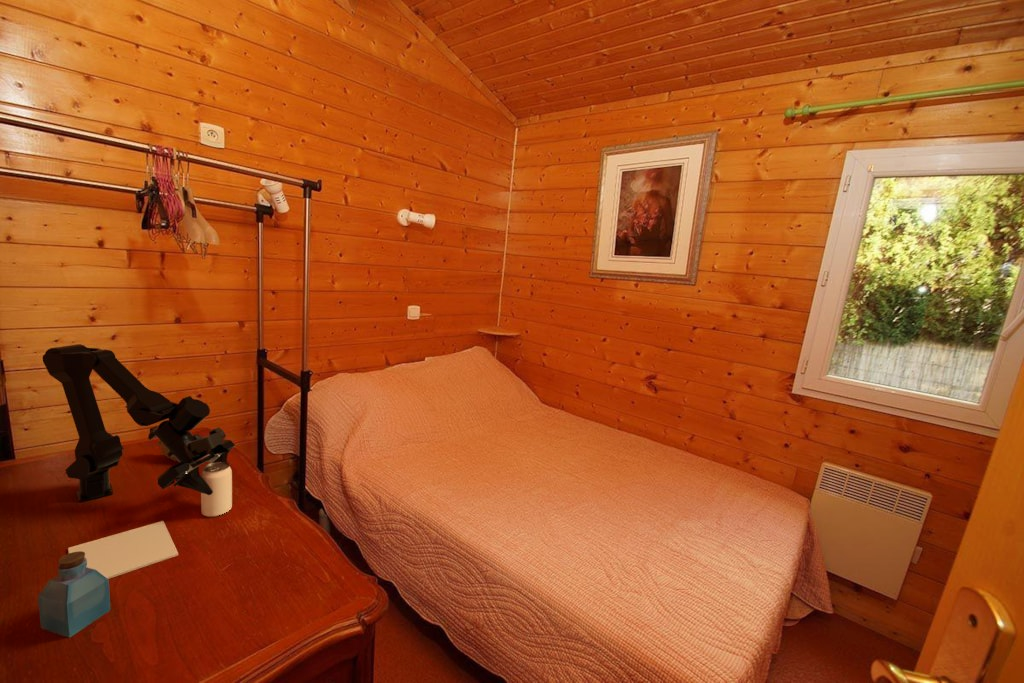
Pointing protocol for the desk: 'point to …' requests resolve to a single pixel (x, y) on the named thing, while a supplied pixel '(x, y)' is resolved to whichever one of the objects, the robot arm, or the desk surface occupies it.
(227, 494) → the can
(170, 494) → the desk surface
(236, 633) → the desk surface
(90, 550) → the beige mat
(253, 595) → the desk surface
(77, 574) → the perfume bottle
